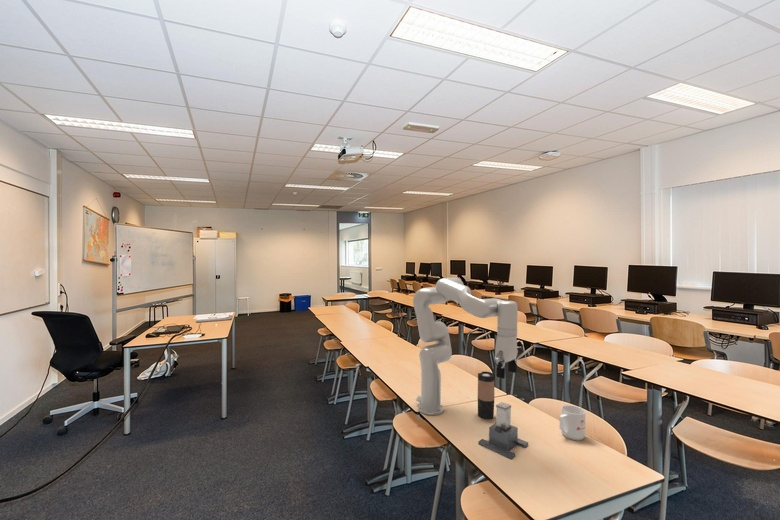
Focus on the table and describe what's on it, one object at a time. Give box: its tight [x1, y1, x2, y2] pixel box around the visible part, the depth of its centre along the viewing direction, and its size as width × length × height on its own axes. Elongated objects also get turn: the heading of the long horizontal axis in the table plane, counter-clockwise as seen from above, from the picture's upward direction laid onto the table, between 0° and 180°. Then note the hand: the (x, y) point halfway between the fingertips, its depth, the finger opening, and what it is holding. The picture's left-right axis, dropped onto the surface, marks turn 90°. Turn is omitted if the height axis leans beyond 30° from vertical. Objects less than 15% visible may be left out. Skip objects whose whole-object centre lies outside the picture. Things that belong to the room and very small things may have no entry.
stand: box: [478, 422, 529, 460], centre depth 136 cm, size 14×14×8 cm
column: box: [495, 401, 512, 432], centre depth 136 cm, size 4×4×16 cm
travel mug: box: [477, 371, 495, 421], centre depth 161 cm, size 8×8×20 cm
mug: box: [558, 404, 586, 441], centre depth 143 cm, size 12×9×11 cm
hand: (506, 374), depth 135 cm, fingers open, 9 cm apart
